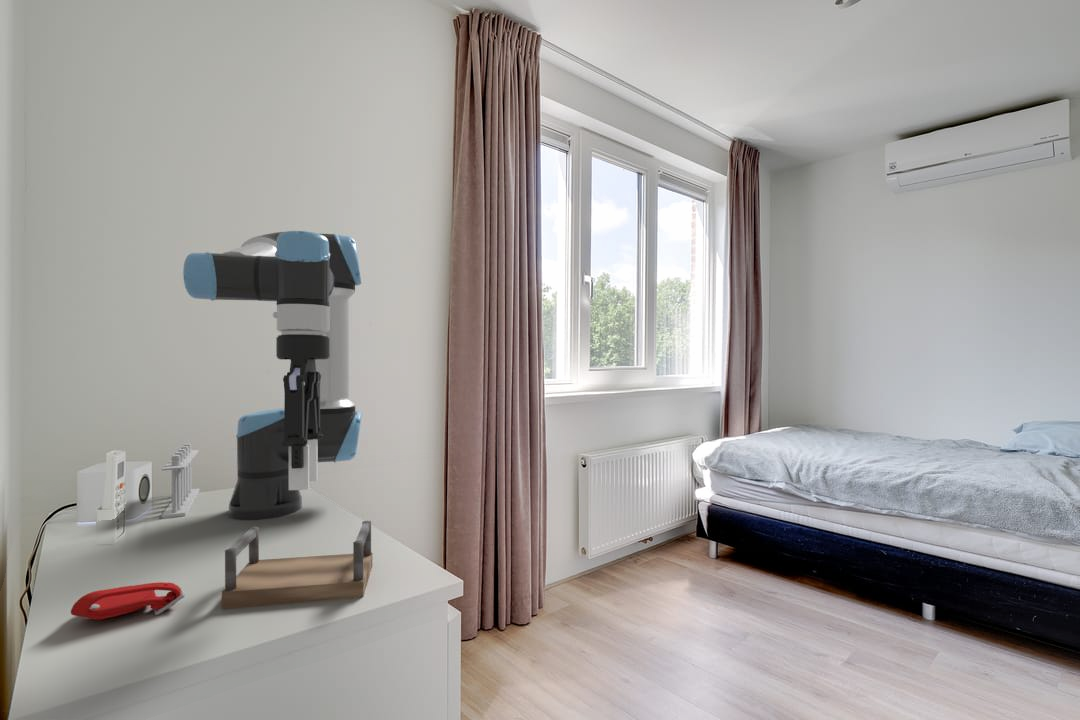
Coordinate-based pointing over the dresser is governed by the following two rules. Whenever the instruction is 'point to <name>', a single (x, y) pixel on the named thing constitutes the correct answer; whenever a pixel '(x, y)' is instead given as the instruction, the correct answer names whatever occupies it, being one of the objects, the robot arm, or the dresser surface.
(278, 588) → the wooden serving tray
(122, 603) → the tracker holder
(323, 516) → the dresser surface
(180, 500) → the test tube rack
